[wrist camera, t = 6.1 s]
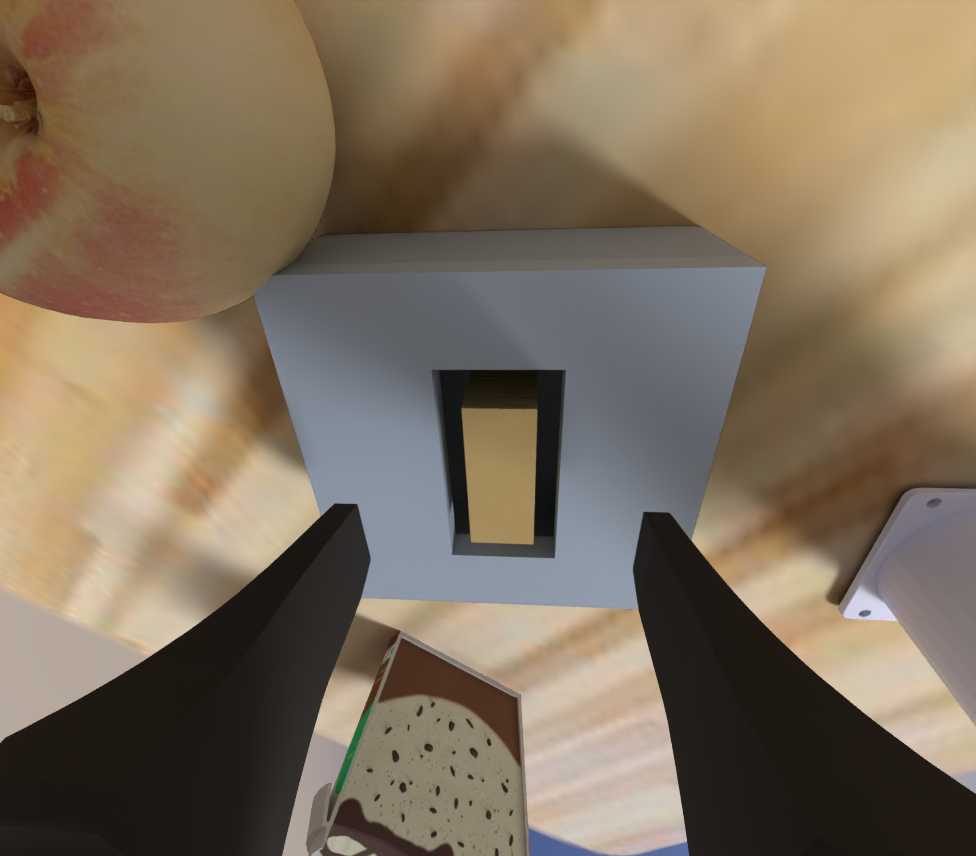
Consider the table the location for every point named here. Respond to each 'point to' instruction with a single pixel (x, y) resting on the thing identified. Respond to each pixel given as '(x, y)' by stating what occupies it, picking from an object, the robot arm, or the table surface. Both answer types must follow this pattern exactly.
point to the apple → (157, 153)
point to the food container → (428, 766)
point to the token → (501, 454)
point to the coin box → (511, 346)
